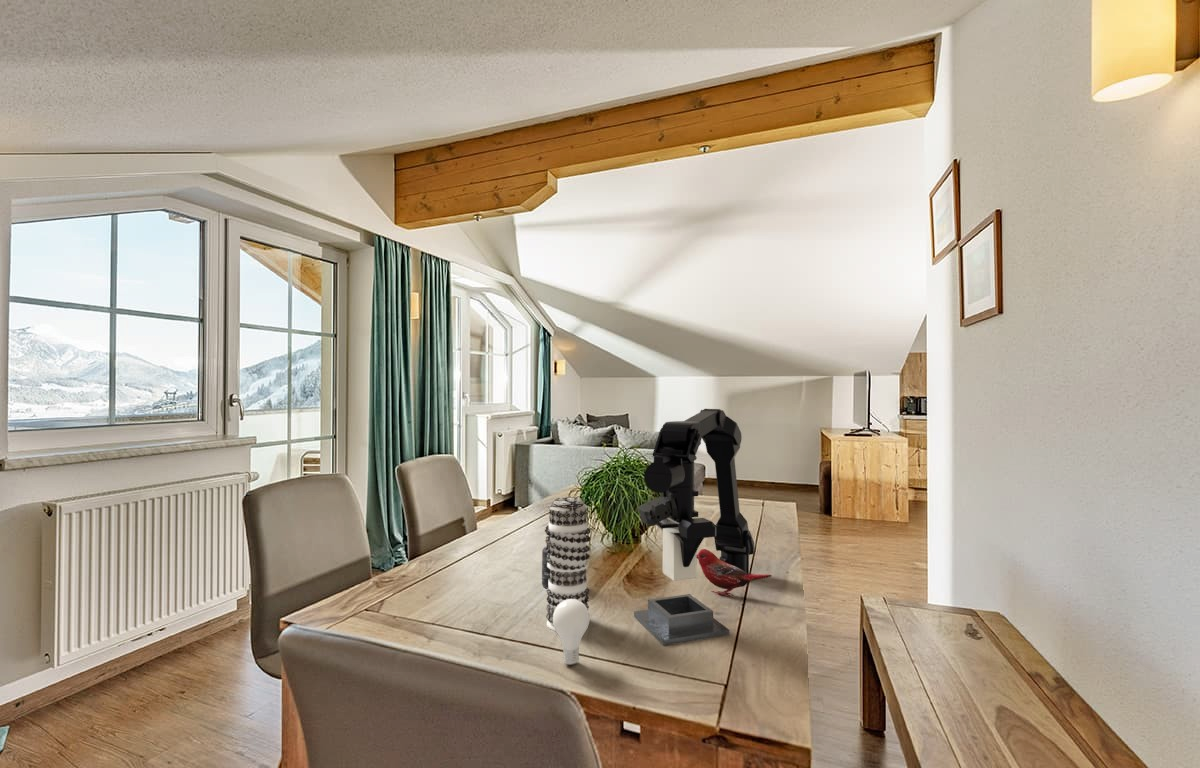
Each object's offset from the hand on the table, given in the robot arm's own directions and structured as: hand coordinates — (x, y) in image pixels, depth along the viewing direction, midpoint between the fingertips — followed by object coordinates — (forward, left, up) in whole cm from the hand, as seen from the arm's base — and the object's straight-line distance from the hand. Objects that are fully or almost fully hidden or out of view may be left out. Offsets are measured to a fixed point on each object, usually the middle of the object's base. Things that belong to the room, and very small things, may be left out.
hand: (679, 562), depth 112 cm
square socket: (0, 0, -12) cm, 13 cm away
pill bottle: (+18, -30, -13) cm, 37 cm away
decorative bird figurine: (-18, -10, -13) cm, 24 cm away
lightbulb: (+25, +8, -13) cm, 29 cm away
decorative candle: (+21, -8, -13) cm, 26 cm away
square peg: (0, 0, -2) cm, 3 cm away
